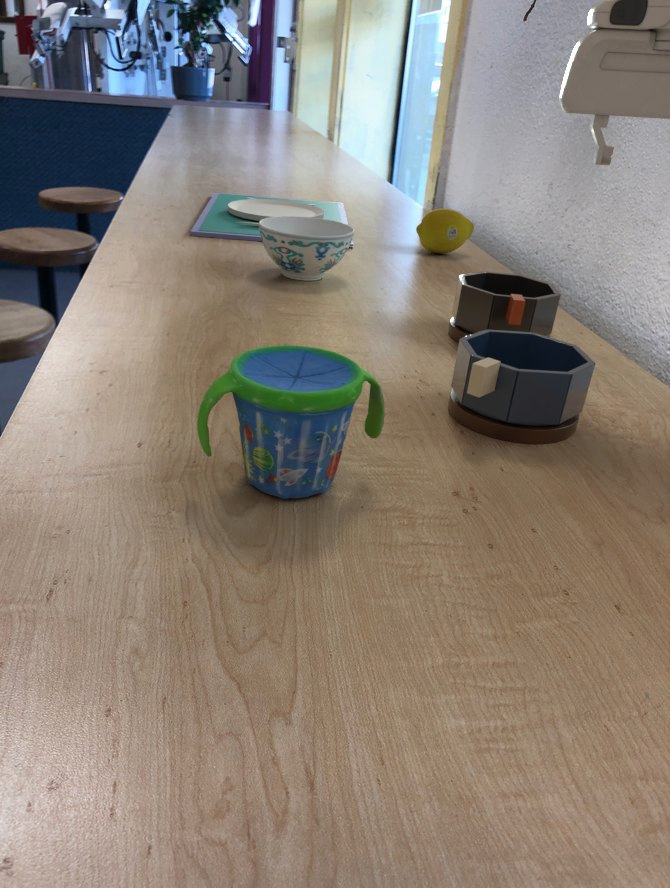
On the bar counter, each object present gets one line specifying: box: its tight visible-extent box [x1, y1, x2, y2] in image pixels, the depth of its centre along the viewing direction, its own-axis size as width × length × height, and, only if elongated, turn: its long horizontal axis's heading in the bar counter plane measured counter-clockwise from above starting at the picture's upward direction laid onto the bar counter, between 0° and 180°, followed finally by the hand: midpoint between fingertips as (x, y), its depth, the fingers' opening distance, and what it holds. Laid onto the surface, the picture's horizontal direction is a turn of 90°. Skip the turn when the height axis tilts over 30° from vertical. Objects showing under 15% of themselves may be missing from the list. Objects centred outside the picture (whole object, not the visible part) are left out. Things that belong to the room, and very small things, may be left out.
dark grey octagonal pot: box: [451, 270, 562, 336], centre depth 102 cm, size 15×12×6 cm
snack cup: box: [196, 344, 385, 500], centre depth 64 cm, size 16×10×10 cm
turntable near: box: [447, 388, 580, 445], centre depth 82 cm, size 13×13×2 cm
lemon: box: [415, 207, 475, 255], centre depth 148 cm, size 11×8×8 cm
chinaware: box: [259, 216, 355, 282], centre depth 125 cm, size 15×15×8 cm
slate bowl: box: [450, 330, 596, 426], centre depth 79 cm, size 15×12×6 cm
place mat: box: [189, 192, 354, 247], centre depth 166 cm, size 45×30×2 cm
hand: (648, 167), depth 82 cm, fingers open, 8 cm apart
